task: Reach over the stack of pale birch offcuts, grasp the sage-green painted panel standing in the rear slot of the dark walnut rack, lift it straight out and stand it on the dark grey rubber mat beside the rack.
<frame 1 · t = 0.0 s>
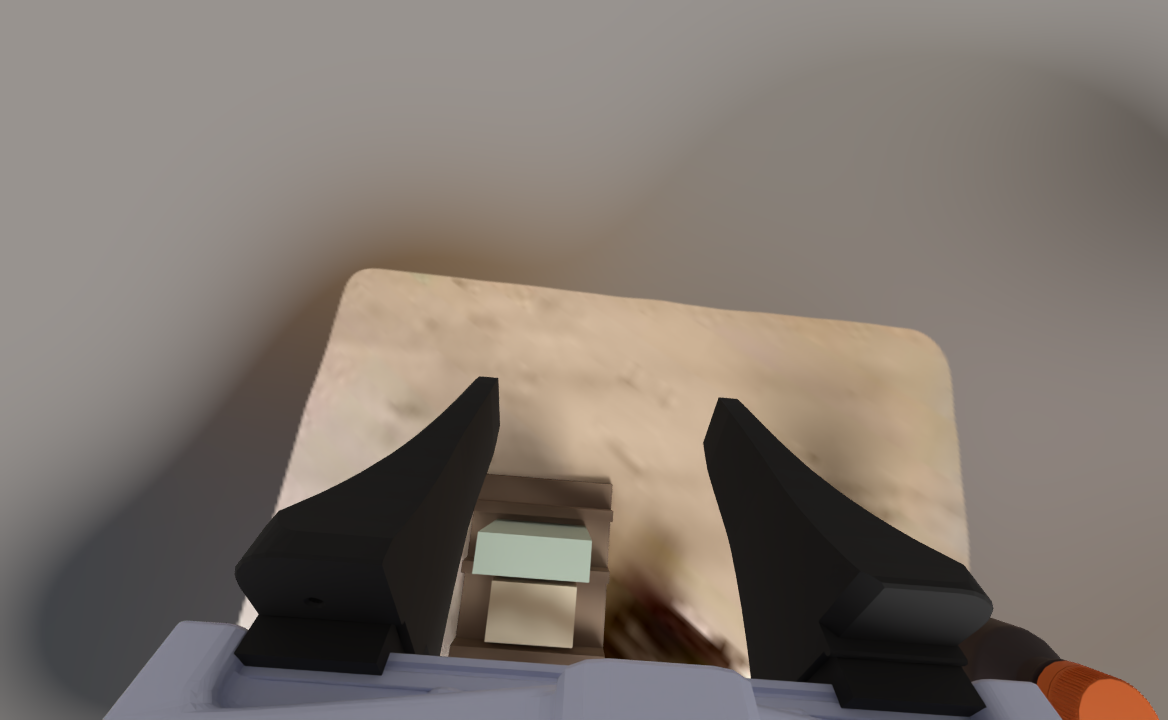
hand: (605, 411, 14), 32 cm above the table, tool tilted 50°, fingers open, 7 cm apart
rack: (538, 561, 42), on the table
offcut top: (532, 610, 39), point 2 cm above the table, touching offcut low
bottle: (863, 611, 42), on the table
sage panel: (540, 537, 42), point 1 cm above the table, touching rack
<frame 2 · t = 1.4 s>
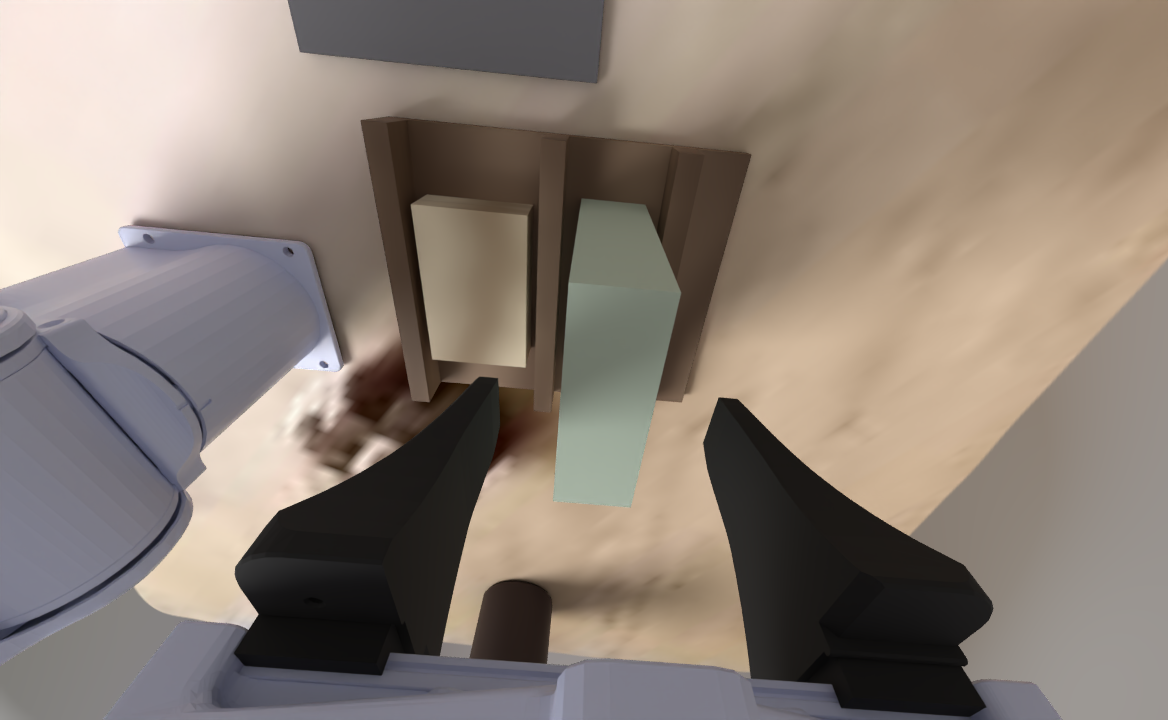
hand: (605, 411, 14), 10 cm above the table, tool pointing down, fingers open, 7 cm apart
rack: (561, 281, 22), on the table
offcut top: (479, 286, 21), point 2 cm above the table, touching offcut low
offcut low: (484, 279, 22), point 1 cm above the table, touching offcut top, rack
bottle: (518, 595, 41), on the table
sage panel: (602, 290, 22), point 1 cm above the table, touching rack
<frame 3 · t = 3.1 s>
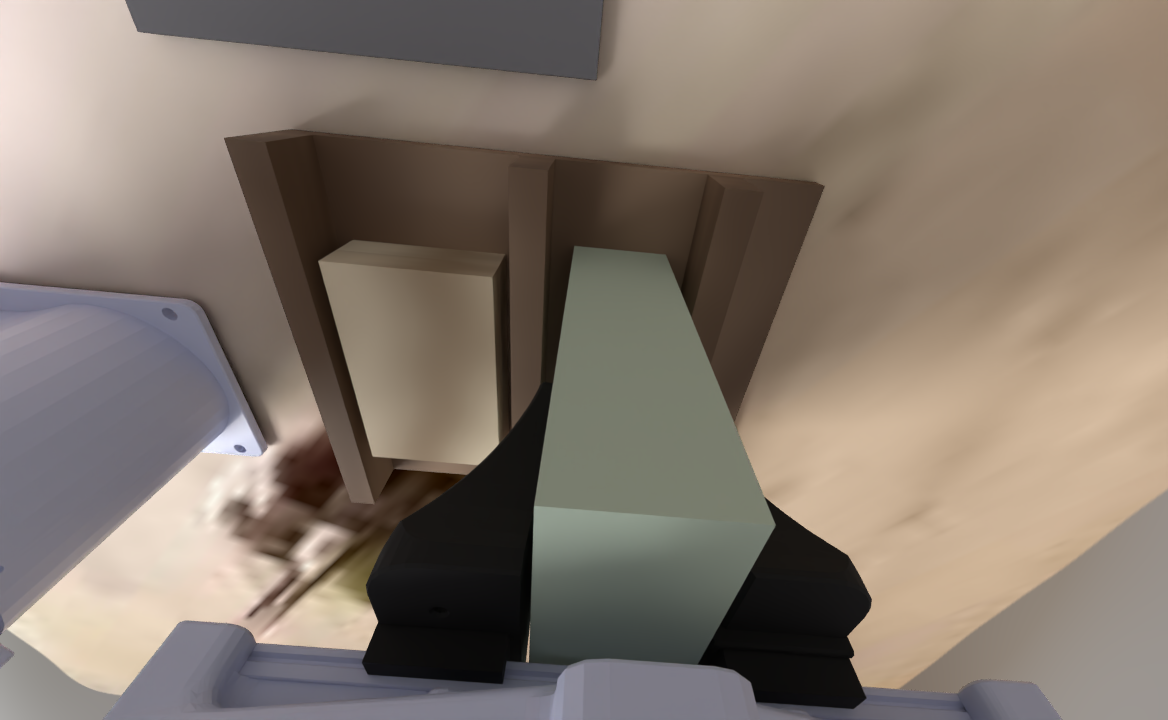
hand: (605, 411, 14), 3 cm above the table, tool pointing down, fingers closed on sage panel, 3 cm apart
rack: (547, 350, 16), on the table
offcut top: (433, 364, 15), point 2 cm above the table, touching offcut low
offcut low: (442, 349, 16), point 1 cm above the table, touching offcut top, rack
sage panel: (604, 364, 16), point 1 cm above the table, touching gripper, rack
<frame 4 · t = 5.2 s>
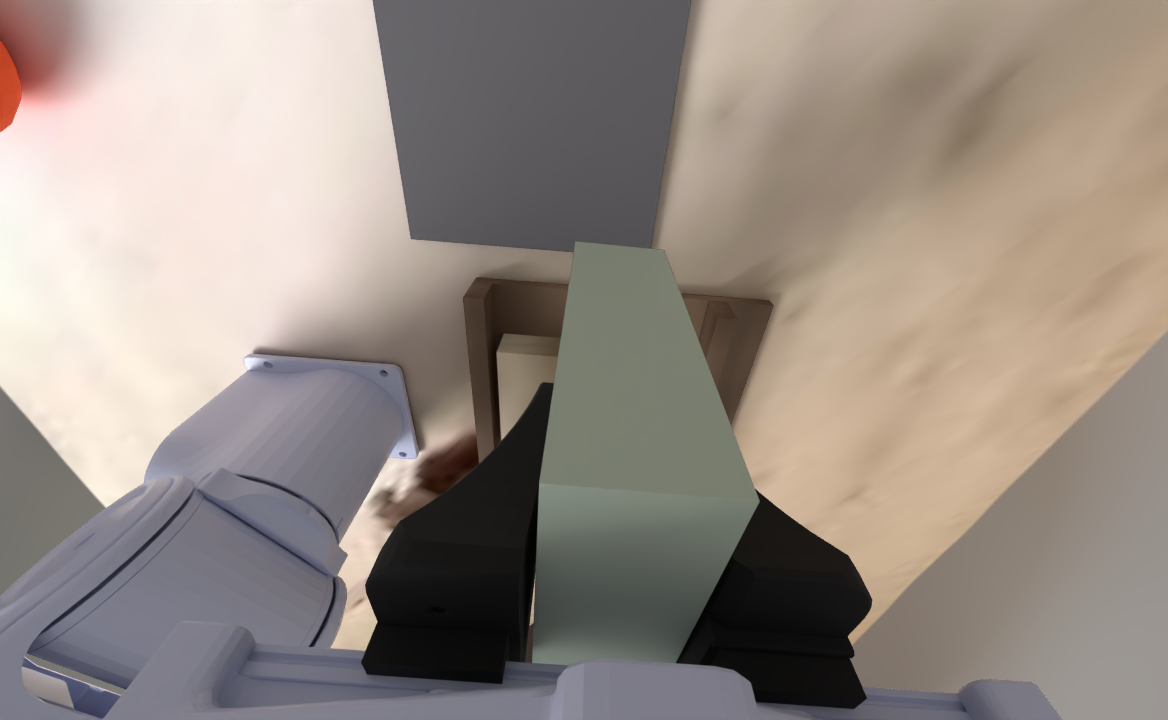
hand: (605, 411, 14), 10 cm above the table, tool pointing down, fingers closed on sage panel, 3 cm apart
rack: (610, 391, 26), on the table
offcut top: (544, 402, 25), point 2 cm above the table, touching offcut low
mat: (532, 109, 18), on the table
offcut low: (546, 392, 26), point 1 cm above the table, touching offcut top, rack
sage panel: (604, 356, 16), point 7 cm above the table, touching gripper
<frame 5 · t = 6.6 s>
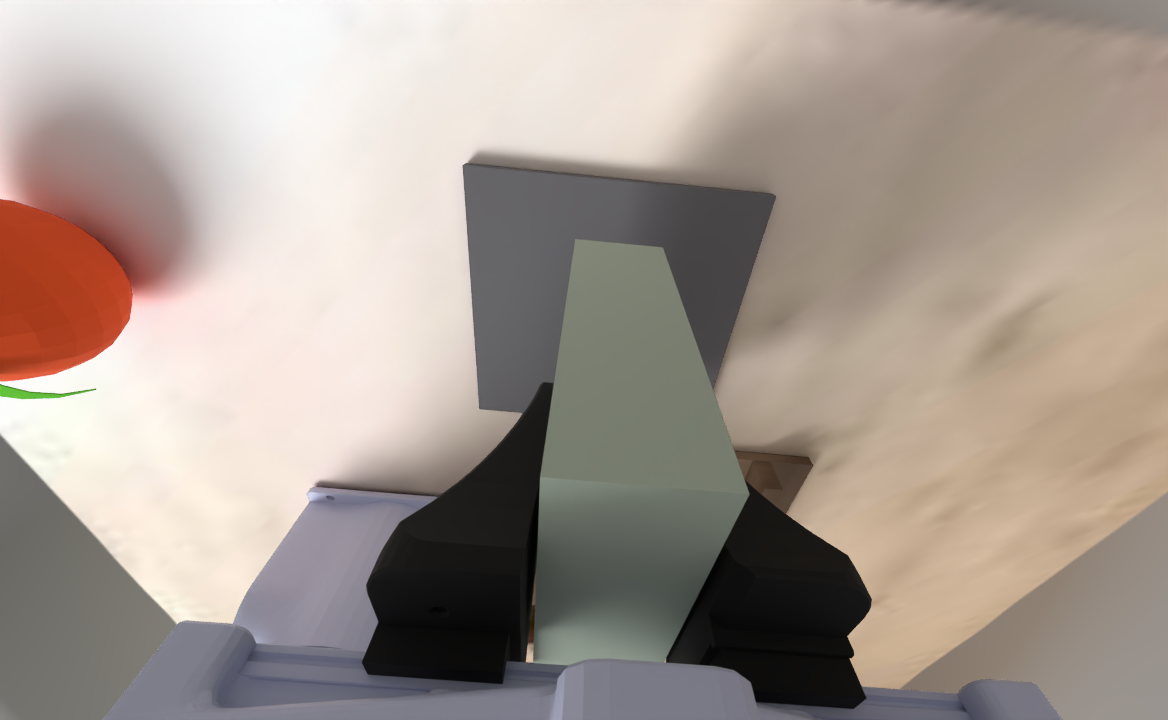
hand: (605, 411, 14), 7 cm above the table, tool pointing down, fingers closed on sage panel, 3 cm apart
rack: (651, 520, 28), on the table
tomato: (108, 267, 19), on the table
mat: (603, 315, 19), on the table
sage panel: (604, 351, 17), point 3 cm above the table, touching gripper
when the fingers open (4 cm above the table, at t = 7.5 s): sage panel stays where it is, resting on mat.
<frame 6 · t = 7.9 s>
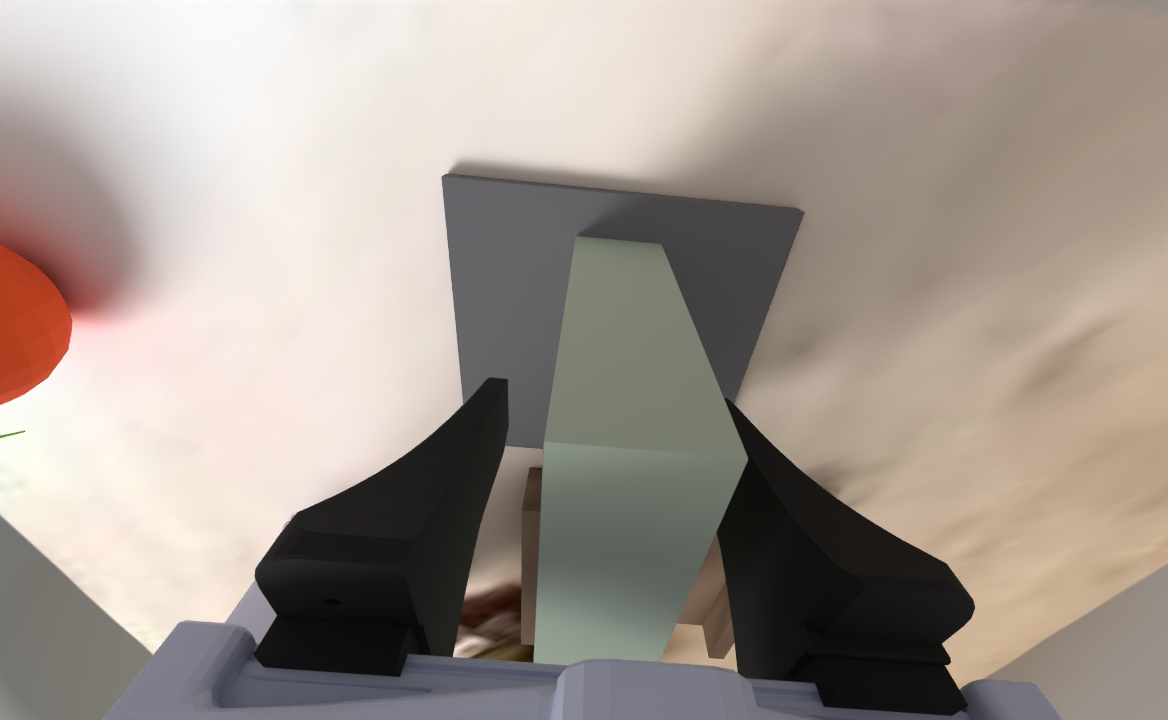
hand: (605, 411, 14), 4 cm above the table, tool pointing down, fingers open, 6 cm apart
rack: (656, 555, 26), on the table
tomato: (47, 289, 17), on the table
mat: (604, 342, 17), on the table
sage panel: (604, 349, 17), resting on mat
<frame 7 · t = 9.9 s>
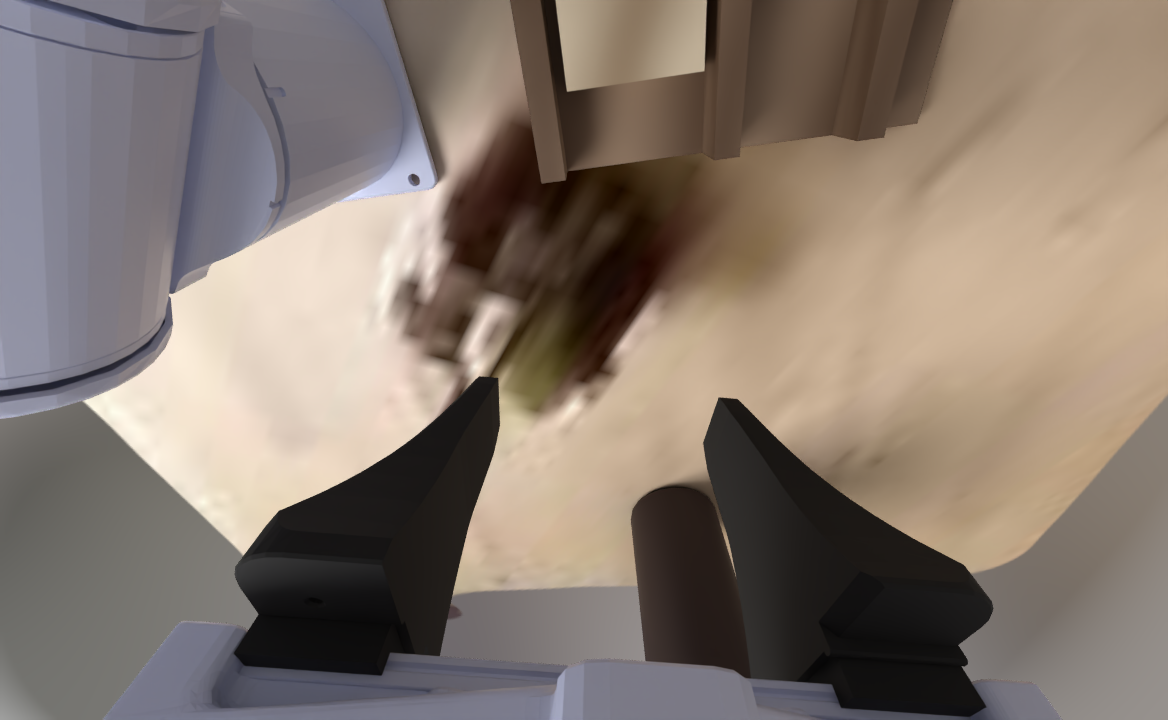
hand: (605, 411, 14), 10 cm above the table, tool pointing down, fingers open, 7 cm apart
bottle: (671, 509, 34), on the table
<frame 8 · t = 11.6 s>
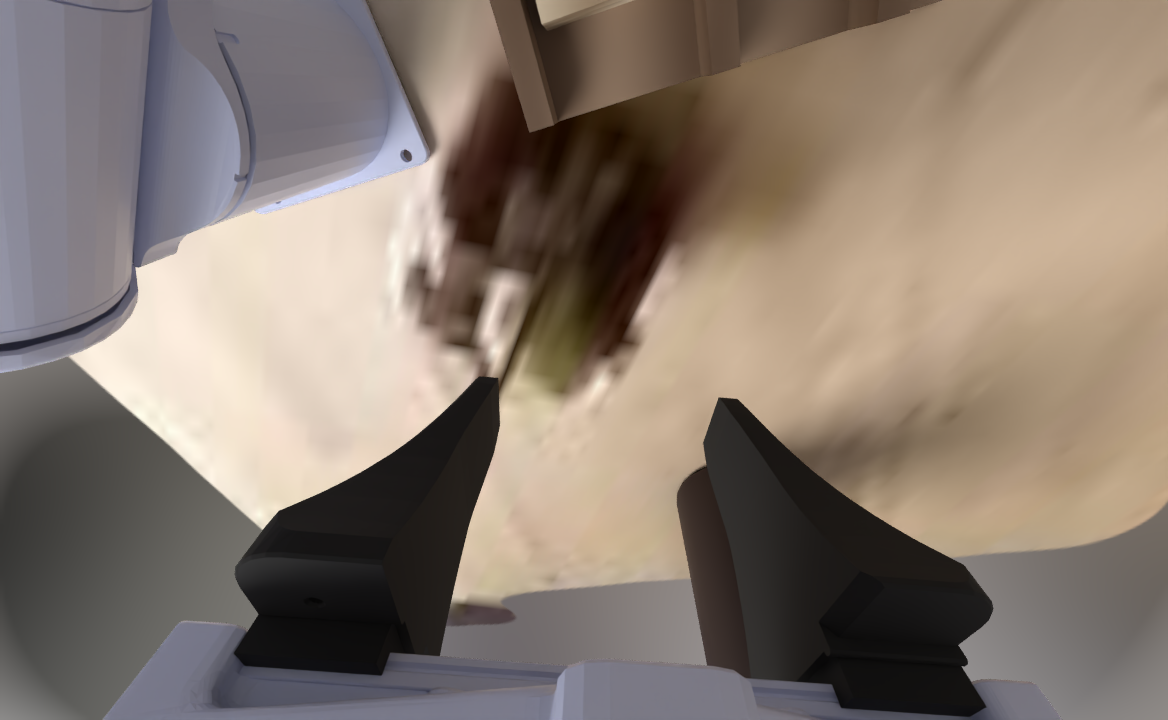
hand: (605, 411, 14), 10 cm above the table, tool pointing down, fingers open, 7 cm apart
bottle: (720, 490, 31), on the table
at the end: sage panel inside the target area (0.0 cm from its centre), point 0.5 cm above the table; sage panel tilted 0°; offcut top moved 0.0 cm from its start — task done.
